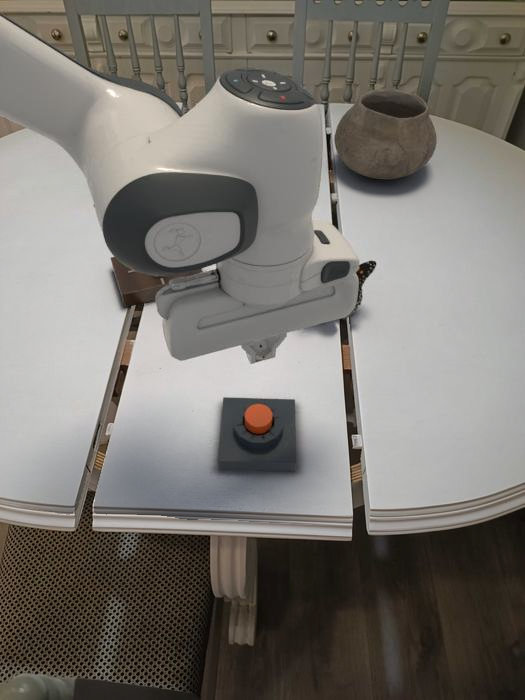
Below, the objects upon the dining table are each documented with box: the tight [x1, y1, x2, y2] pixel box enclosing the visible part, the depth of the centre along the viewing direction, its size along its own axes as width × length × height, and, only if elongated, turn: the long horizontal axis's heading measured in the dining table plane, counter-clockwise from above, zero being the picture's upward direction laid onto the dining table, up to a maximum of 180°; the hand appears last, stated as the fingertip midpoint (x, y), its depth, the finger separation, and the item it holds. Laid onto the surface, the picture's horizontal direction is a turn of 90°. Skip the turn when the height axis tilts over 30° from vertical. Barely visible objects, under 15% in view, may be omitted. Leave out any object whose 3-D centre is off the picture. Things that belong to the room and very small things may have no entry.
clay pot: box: [333, 88, 438, 180], centre depth 113 cm, size 22×21×15 cm
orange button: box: [245, 404, 273, 434], centre depth 69 cm, size 4×4×2 cm
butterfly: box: [341, 260, 377, 320], centre depth 85 cm, size 12×10×10 cm
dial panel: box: [110, 256, 204, 308], centre depth 92 cm, size 14×10×3 cm
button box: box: [217, 396, 298, 472], centre depth 71 cm, size 10×10×4 cm
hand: (260, 356), depth 60 cm, fingers closed
